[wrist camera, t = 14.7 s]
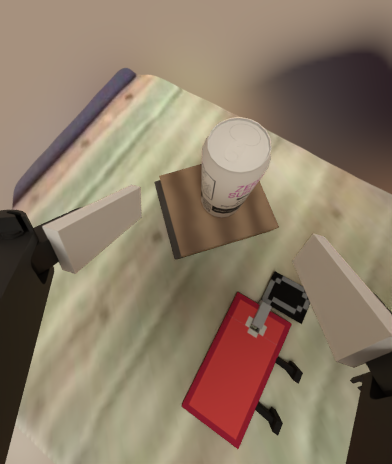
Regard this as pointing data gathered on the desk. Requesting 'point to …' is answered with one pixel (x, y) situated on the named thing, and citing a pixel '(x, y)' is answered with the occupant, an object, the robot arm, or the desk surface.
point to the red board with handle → (246, 361)
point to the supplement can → (233, 164)
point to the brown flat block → (207, 215)
